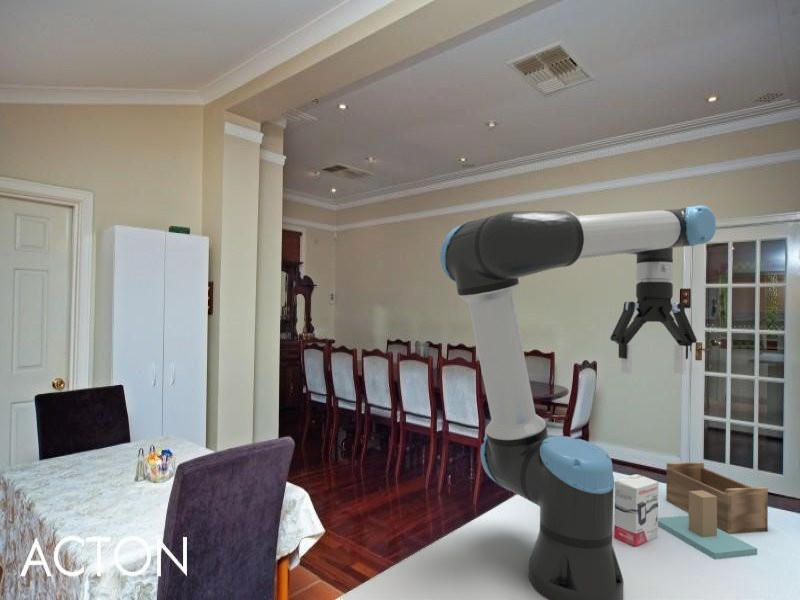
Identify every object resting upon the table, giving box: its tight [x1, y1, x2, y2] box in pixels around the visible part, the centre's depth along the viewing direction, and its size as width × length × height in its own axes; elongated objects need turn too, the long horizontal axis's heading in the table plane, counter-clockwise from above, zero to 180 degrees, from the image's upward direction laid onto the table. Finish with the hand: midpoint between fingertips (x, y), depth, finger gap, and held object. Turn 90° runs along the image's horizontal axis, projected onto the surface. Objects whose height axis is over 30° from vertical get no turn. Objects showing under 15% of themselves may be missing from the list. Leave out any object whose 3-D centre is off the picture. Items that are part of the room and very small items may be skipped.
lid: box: [658, 490, 758, 560], centre depth 99 cm, size 10×15×10 cm, turn 13°
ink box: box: [613, 473, 660, 547], centre depth 99 cm, size 8×5×12 cm, turn 123°
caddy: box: [665, 461, 769, 535], centre depth 111 cm, size 10×18×9 cm, turn 10°
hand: (653, 373), depth 110 cm, fingers open, 13 cm apart
